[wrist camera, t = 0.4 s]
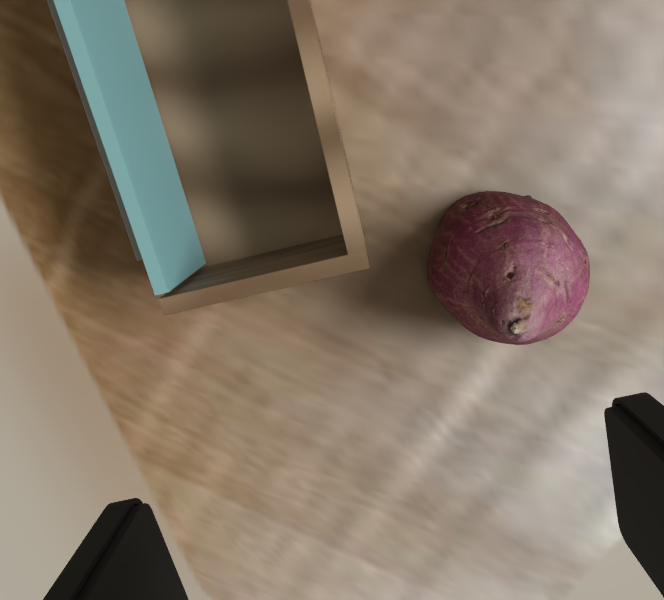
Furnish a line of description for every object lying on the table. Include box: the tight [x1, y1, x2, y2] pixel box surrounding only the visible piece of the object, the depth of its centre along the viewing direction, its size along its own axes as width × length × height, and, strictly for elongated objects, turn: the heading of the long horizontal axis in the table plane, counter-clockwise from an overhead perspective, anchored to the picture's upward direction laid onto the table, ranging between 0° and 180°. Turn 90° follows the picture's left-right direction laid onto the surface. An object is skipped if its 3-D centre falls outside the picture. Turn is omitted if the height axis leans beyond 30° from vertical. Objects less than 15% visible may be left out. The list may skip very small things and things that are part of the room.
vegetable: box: [427, 191, 590, 345], centre depth 33 cm, size 10×10×15 cm
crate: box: [124, 0, 370, 315], centre depth 31 cm, size 27×12×10 cm, turn 14°
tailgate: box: [47, 0, 206, 295], centre depth 30 cm, size 24×1×8 cm, turn 14°
